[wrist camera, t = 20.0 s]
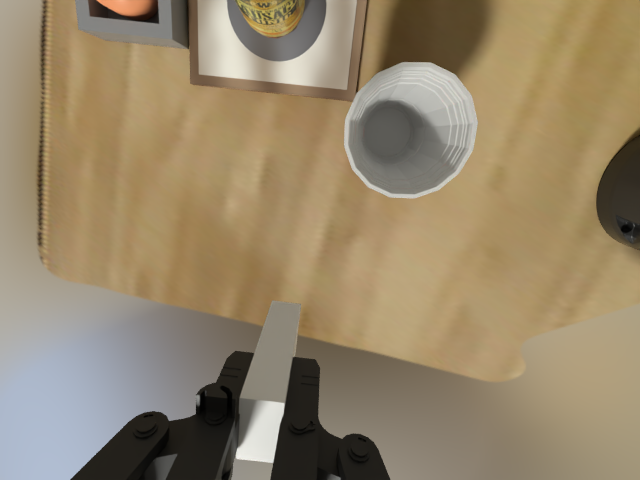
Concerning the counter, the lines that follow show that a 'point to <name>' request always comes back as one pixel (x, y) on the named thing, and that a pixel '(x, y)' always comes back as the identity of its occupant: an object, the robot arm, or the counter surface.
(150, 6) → the button
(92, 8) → the button housing
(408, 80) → the plastic cup
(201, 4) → the board
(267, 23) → the sauce bottle
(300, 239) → the counter surface
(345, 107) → the counter surface
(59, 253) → the counter surface
